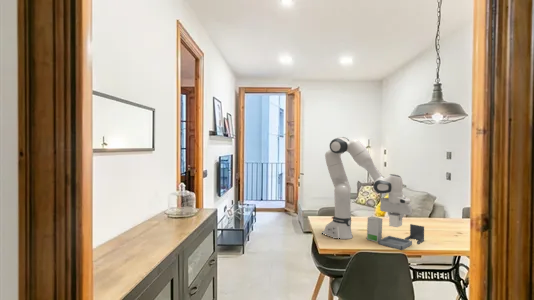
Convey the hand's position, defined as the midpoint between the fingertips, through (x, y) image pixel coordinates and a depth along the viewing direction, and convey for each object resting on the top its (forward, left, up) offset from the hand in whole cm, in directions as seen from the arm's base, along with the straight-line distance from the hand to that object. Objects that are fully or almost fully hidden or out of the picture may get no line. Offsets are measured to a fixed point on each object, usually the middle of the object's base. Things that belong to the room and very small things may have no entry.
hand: (395, 219), depth 200 cm
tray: (0, 0, -17) cm, 17 cm away
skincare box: (-14, -1, -17) cm, 22 cm away
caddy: (0, 0, -4) cm, 4 cm away
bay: (+6, +16, -17) cm, 24 cm away
